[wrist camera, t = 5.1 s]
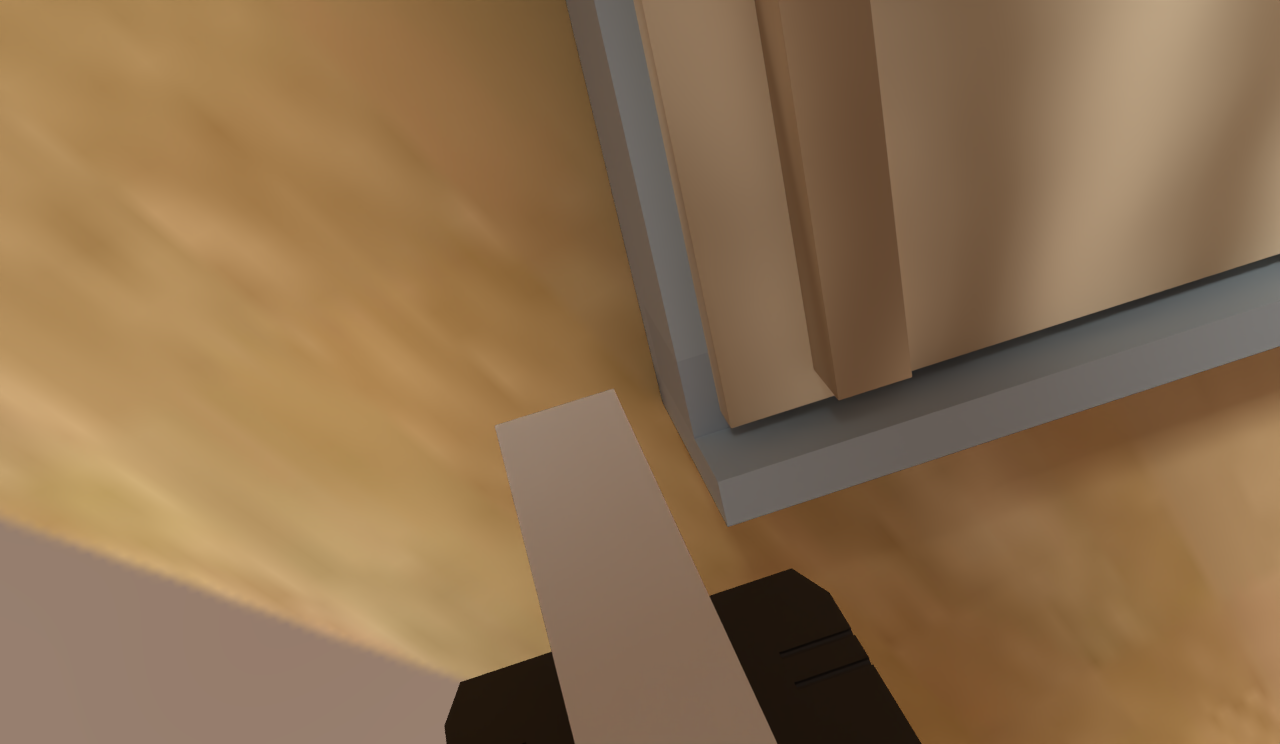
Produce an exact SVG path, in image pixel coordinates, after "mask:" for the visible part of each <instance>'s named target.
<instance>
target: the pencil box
mask: <svg viewBox="0 0 1280 744" xmlns="http://www.w3.org/2000/svg"><path fill="white" fill-rule="evenodd" d="M566 4H567V8H568V12H569V16H570V20H571V24H572V29H573V33H574V37H575V41H576V45H577V49H578V53H579V58H580V62H581V66H582V70H583V74H584V78H585V82H586V87H587V91H588V95H589V99H590V103H591V107H592V112H593V116H594V120H595V124H596V128H597V132H598V136H599V141H600V145H601V149H602V153H603V157H604V161H605V165H606V170H607V174H608V178H609V182H610V186H611V190H612V195H613V199H614V203H615V207H616V211H617V215H618V219H619V224H620V228H621V232H622V236H623V240H624V244H625V248H626V253H627V257H628V261H629V265H630V269H631V273H632V278H633V282H634V286H635V290H636V294H637V298H638V302H639V307H640V311H641V315H642V319H643V323H644V327H645V331H646V336H647V340H648V344H649V348H650V352H651V356H652V361H653V365H654V369H655V373H656V377H657V381H658V385H659V390H660V394H661V398H662V402H663V404H664V406H665V408H666V410H667V412H668V414H669V415H670V417H671V419H672V421H673V423H674V425H675V427H676V429H677V431H678V433H679V435H680V436H681V438H682V440H683V442H684V444H685V446H686V448H687V450H688V452H689V454H690V456H691V458H692V459H693V461H694V463H695V465H696V467H697V469H698V471H699V473H700V475H701V477H702V479H703V480H704V482H705V484H706V486H707V488H708V490H709V492H710V494H711V496H712V498H713V500H714V502H715V503H716V505H717V507H718V509H719V511H720V513H721V515H722V517H723V519H724V521H725V523H726V524H727V526H728V527H729V526H732V525H735V524H738V523H742V522H745V521H748V520H751V519H754V518H757V517H760V516H763V515H766V514H769V513H772V512H775V511H778V510H781V509H784V508H787V507H790V506H793V505H796V504H800V503H803V502H806V501H809V500H812V499H815V498H818V497H821V496H824V495H827V494H830V493H833V492H836V491H839V490H842V489H845V488H848V487H851V486H854V485H858V484H861V483H864V482H867V481H870V480H873V479H876V478H879V477H882V476H885V475H888V474H891V473H894V472H897V471H900V470H903V469H906V468H909V467H912V466H916V465H919V464H922V463H925V462H928V461H931V460H934V459H937V458H940V457H943V456H946V455H949V454H952V453H955V452H958V451H961V450H964V449H967V448H970V447H974V446H977V445H980V444H983V443H986V442H989V441H992V440H995V439H998V438H1001V437H1004V436H1007V435H1010V434H1013V433H1016V432H1019V431H1022V430H1025V429H1028V428H1032V427H1035V426H1038V425H1041V424H1044V423H1047V422H1050V421H1053V420H1056V419H1059V418H1062V417H1065V416H1068V415H1071V414H1074V413H1077V412H1080V411H1083V410H1086V409H1090V408H1093V407H1096V406H1099V405H1102V404H1105V403H1108V402H1111V401H1114V400H1117V399H1120V398H1123V397H1126V396H1129V395H1132V394H1135V393H1138V392H1141V391H1145V390H1148V389H1151V388H1154V387H1157V386H1160V385H1163V384H1166V383H1169V382H1172V381H1175V380H1178V379H1181V378H1184V377H1187V376H1190V375H1193V374H1196V373H1199V372H1203V371H1206V370H1209V369H1212V368H1215V367H1218V366H1221V365H1224V364H1227V363H1230V362H1233V361H1236V360H1239V359H1242V358H1245V357H1248V356H1251V355H1254V354H1257V353H1261V352H1264V351H1267V350H1270V349H1273V348H1276V347H1279V346H1280V254H1277V255H1274V256H1271V257H1268V258H1265V259H1261V260H1258V261H1255V262H1252V263H1249V264H1246V265H1243V266H1240V267H1236V268H1233V269H1230V270H1227V271H1224V272H1221V273H1218V274H1214V275H1211V276H1208V277H1205V278H1202V279H1199V280H1196V281H1192V282H1189V283H1186V284H1183V285H1180V286H1177V287H1174V288H1171V289H1167V290H1164V291H1161V292H1158V293H1155V294H1152V295H1149V296H1145V297H1142V298H1139V299H1136V300H1133V301H1130V302H1127V303H1123V304H1120V305H1117V306H1114V307H1111V308H1108V309H1105V310H1101V311H1098V312H1095V313H1092V314H1089V315H1086V316H1083V317H1080V318H1076V319H1073V320H1070V321H1067V322H1064V323H1061V324H1058V325H1054V326H1051V327H1048V328H1045V329H1042V330H1039V331H1036V332H1032V333H1029V334H1026V335H1023V336H1020V337H1017V338H1014V339H1011V340H1007V341H1004V342H1001V343H998V344H995V345H992V346H989V347H985V348H982V349H979V350H976V351H973V352H970V353H967V354H963V355H960V356H957V357H954V358H951V359H948V360H945V361H941V362H938V363H935V364H932V365H929V366H926V367H923V368H920V369H916V370H913V371H912V377H911V378H908V379H905V380H902V381H898V382H895V383H892V384H889V385H886V386H883V387H880V388H877V389H873V390H870V391H867V392H864V393H861V394H858V395H855V396H851V397H848V398H845V399H842V400H838V399H837V398H836V397H835V396H832V397H829V398H825V399H822V400H819V401H816V402H813V403H810V404H807V405H803V406H800V407H797V408H794V409H791V410H788V411H785V412H781V413H778V414H775V415H772V416H769V417H766V418H763V419H760V420H756V421H753V422H750V423H747V424H744V425H741V426H738V427H734V428H731V427H730V426H729V424H728V422H727V421H726V419H725V418H724V416H723V414H722V413H721V411H720V407H719V402H718V397H717V393H716V388H715V383H714V379H713V374H712V369H711V364H710V360H709V355H708V350H707V346H706V341H705V336H704V332H703V327H702V322H701V317H700V313H699V308H698V303H697V299H696V294H695V289H694V284H693V280H692V275H691V270H690V266H689V261H688V256H687V251H686V247H685V242H684V237H683V233H682V228H681V223H680V218H679V214H678V209H677V204H676V200H675V195H674V190H673V186H672V181H671V176H670V171H669V167H668V162H667V157H666V153H665V148H664V143H663V138H662V134H661V129H660V124H659V120H658V115H657V110H656V105H655V101H654V96H653V91H652V87H651V82H650V77H649V72H648V68H647V63H646V58H645V54H644V49H643V44H642V40H641V35H640V30H639V25H638V21H637V16H636V11H635V7H634V2H633V0H566Z"/></svg>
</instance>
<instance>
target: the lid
mask: <svg viewBox="0 0 1280 744" xmlns="http://www.w3.org/2000/svg"><path fill="white" fill-rule="evenodd" d="M633 2H634V7H635V11H636V16H637V21H638V25H639V30H640V35H641V40H642V44H643V49H644V54H645V58H646V63H647V68H648V72H649V77H650V82H651V87H652V91H653V96H654V101H655V105H656V110H657V115H658V120H659V124H660V129H661V134H662V138H663V143H664V148H665V153H666V157H667V162H668V167H669V171H670V176H671V181H672V186H673V190H674V195H675V200H676V204H677V209H678V214H679V218H680V223H681V228H682V233H683V237H684V242H685V247H686V251H687V256H688V261H689V266H690V270H691V275H692V280H693V284H694V289H695V294H696V299H697V303H698V308H699V313H700V317H701V322H702V327H703V332H704V336H705V341H706V346H707V350H708V355H709V360H710V364H711V369H712V374H713V379H714V383H715V388H716V393H717V397H718V402H719V407H720V411H721V413H722V414H723V416H724V418H725V419H726V421H727V422H728V424H729V426H730V427H731V428H734V427H738V426H741V425H744V424H747V423H750V422H753V421H756V420H760V419H763V418H766V417H769V416H772V415H775V414H778V413H781V412H785V411H788V410H791V409H794V408H797V407H800V406H803V405H807V404H810V403H813V402H816V401H819V400H822V399H825V398H829V397H832V396H835V397H836V398H837V399H838V400H842V399H845V398H848V397H851V396H855V395H858V394H861V393H864V392H867V391H870V390H873V389H877V388H880V387H883V386H886V385H889V384H892V383H895V382H898V381H902V380H905V379H908V378H911V377H912V371H913V370H916V369H920V368H923V367H926V366H929V365H932V364H935V363H938V362H941V361H945V360H948V359H951V358H954V357H957V356H960V355H963V354H967V353H970V352H973V351H976V350H979V349H982V348H985V347H989V346H992V345H995V344H998V343H1001V342H1004V341H1007V340H1011V339H1014V338H1017V337H1020V336H1023V335H1026V334H1029V333H1032V332H1036V331H1039V330H1042V329H1045V328H1048V327H1051V326H1054V325H1058V324H1061V323H1064V322H1067V321H1070V320H1073V319H1076V318H1080V317H1083V316H1086V315H1089V314H1092V313H1095V312H1098V311H1101V310H1105V309H1108V308H1111V307H1114V306H1117V305H1120V304H1123V303H1127V302H1130V301H1133V300H1136V299H1139V298H1142V297H1145V296H1149V295H1152V294H1155V293H1158V292H1161V291H1164V290H1167V289H1171V288H1174V287H1177V286H1180V285H1183V284H1186V283H1189V282H1192V281H1196V280H1199V279H1202V278H1205V277H1208V276H1211V275H1214V274H1218V273H1221V272H1224V271H1227V270H1230V269H1233V268H1236V267H1240V266H1243V265H1246V264H1249V263H1252V262H1255V261H1258V260H1261V259H1265V258H1268V257H1271V256H1274V255H1277V254H1280V0H633Z"/></svg>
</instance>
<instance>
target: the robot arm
mask: <svg viewBox="0 0 1280 744" xmlns="http://www.w3.org/2000/svg"><path fill="white" fill-rule="evenodd" d="M495 429H496V433H497V437H498V441H499V445H500V449H501V453H502V457H503V461H504V464H505V468H506V472H507V476H508V480H509V484H510V488H511V492H512V496H513V500H514V504H515V508H516V512H517V516H518V520H519V524H520V528H521V532H522V536H523V540H524V544H525V548H526V552H527V556H528V560H529V564H530V568H531V571H532V575H533V579H534V583H535V587H536V591H537V595H538V599H539V603H540V607H541V611H542V615H543V619H544V623H545V627H546V631H547V635H548V639H549V643H550V647H551V651H552V652H550V653H547V654H544V655H541V656H538V657H535V658H532V659H529V660H526V661H523V662H520V663H517V664H514V665H511V666H508V667H505V668H502V669H499V670H496V671H493V672H490V673H487V674H484V675H481V676H478V677H475V678H472V679H469V680H466V681H463V682H460V685H459V687H458V690H457V693H456V696H455V698H454V701H453V704H452V707H451V709H450V712H449V715H448V718H447V720H446V723H445V734H446V742H447V744H921V742H920V741H919V739H918V737H917V736H916V734H915V732H914V731H913V729H912V727H911V726H910V724H909V723H908V721H907V719H906V718H905V716H904V714H903V713H902V711H901V709H900V708H899V706H898V704H897V703H896V701H895V700H894V698H893V696H892V695H891V693H890V691H889V690H888V688H887V686H886V685H885V683H884V682H883V680H882V678H881V677H880V675H879V673H878V672H877V670H876V668H875V667H874V665H871V663H870V660H869V657H868V655H867V654H866V652H865V650H864V649H863V647H862V645H861V644H860V642H859V641H858V639H857V637H856V636H855V635H853V633H852V631H851V627H850V626H849V624H848V622H847V621H846V619H845V618H844V616H843V614H842V613H841V611H840V609H839V608H838V606H837V604H836V603H835V601H834V600H833V598H832V596H831V595H830V593H829V592H827V591H826V590H824V589H823V588H821V587H820V586H818V585H817V584H815V583H813V582H812V581H810V580H809V579H807V578H806V577H804V576H803V575H801V574H800V573H798V572H796V571H795V570H793V569H789V570H786V571H783V572H780V573H777V574H774V575H771V576H768V577H765V578H762V579H759V580H756V581H753V582H750V583H747V584H744V585H741V586H738V587H735V588H732V589H729V590H726V591H723V592H720V593H717V594H714V595H711V596H709V595H708V592H707V590H706V588H705V586H704V584H703V582H702V579H701V577H700V575H699V573H698V571H697V568H696V566H695V564H694V562H693V560H692V558H691V555H690V553H689V551H688V549H687V547H686V545H685V542H684V540H683V538H682V536H681V534H680V532H679V529H678V527H677V525H676V523H675V521H674V519H673V516H672V514H671V512H670V510H669V508H668V506H667V503H666V501H665V499H664V497H663V495H662V493H661V490H660V488H659V486H658V484H657V482H656V480H655V477H654V475H653V473H652V471H651V469H650V467H649V464H648V462H647V460H646V458H645V456H644V454H643V451H642V449H641V447H640V445H639V443H638V441H637V438H636V436H635V434H634V432H633V430H632V428H631V425H630V423H629V421H628V419H627V417H626V415H625V412H624V410H623V408H622V406H621V404H620V401H619V399H618V397H617V395H616V393H615V391H614V389H610V390H607V391H604V392H601V393H598V394H594V395H591V396H588V397H585V398H582V399H578V400H575V401H572V402H569V403H565V404H562V405H559V406H556V407H553V408H549V409H546V410H543V411H540V412H537V413H533V414H530V415H527V416H524V417H521V418H517V419H514V420H511V421H508V422H505V423H501V424H498V425H495Z"/></svg>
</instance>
